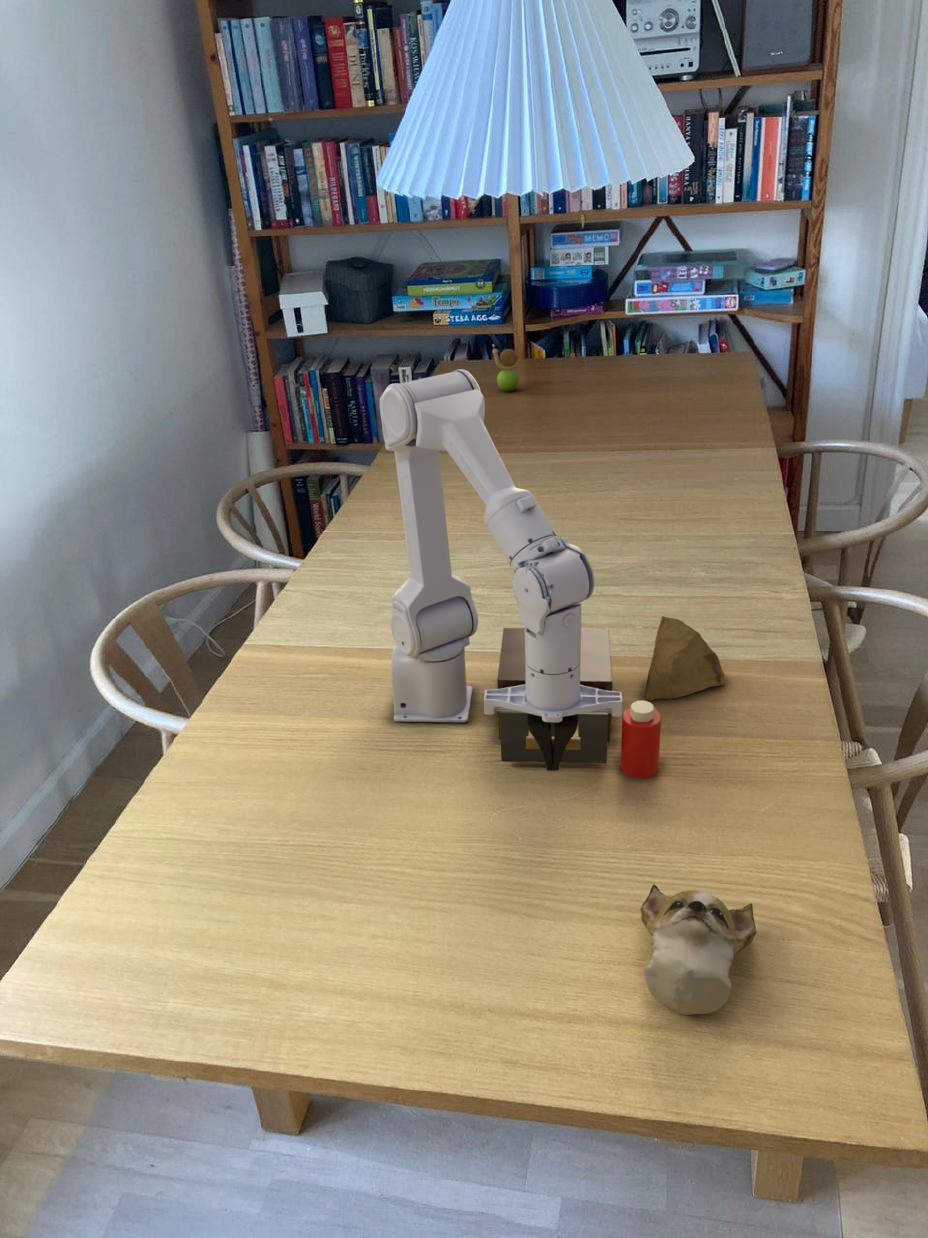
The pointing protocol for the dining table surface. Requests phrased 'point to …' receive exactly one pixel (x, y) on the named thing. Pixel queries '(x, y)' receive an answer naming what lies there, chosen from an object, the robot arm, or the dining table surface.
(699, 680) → the rock
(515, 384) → the snail figurine
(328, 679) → the dining table surface
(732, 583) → the dining table surface
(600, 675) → the cabinet
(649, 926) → the ceramic sculpture
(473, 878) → the dining table surface
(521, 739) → the drawer
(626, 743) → the red plastic cylinder
